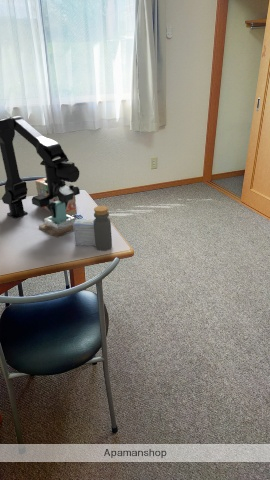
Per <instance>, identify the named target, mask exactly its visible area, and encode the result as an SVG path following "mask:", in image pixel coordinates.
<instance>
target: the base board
mask: <svg viewBox="0 0 270 480" xmlns="http://www.w3.org/2000/svg"><path fill="white" fill-rule="evenodd" d="M38 227H39V229H40V230H42V231H44V232H46V233H48V234H50V235H52V236H55V237H57V238H59V237H62V236H63V235H64V236H65V235H66V234H69V233H71V232H74V228H73V226H71V227H68V228H66V229H64V230H61V231H59V232H58V231H55V230H53V229H51V228H49V227H47V226H45V223H43V224H40V225H39V226H38Z"/></svg>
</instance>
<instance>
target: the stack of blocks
mask: <svg viewBox="0 0 270 480" xmlns="http://www.w3.org/2000/svg"><path fill="white" fill-rule="evenodd" d="M45 180H47V179H46V177H44V178H39V179H36V180H35V186H36V191H37V192H36V193H37V195H40V194H41V195H44V196H47V195H49V194H48V193H46V191H47V190H48V186H47V183H45ZM76 199H77V198H76V195H75V196H74V195H73V199H72V200H69V201H68V204H67V207H66V214H67V215H70V216H72V215H75V214H77V211H78V210H77V204H76V202H77V201H76ZM58 200H59V198H55V199H53V202H55V201H58ZM42 208H43V209H45V210H47V211H49V210H48V208H47V207H46V206H45V207H42ZM75 216H76V215H75ZM72 217H73V216H72Z"/></svg>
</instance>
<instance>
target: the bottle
mask: <svg viewBox="0 0 270 480" xmlns="http://www.w3.org/2000/svg"><path fill="white" fill-rule="evenodd" d="M108 210H109V207H108V206H106V205H97V206H95V207H94V208H93V211H94V213H93V216H94V219H93V220H94V233H95V244H96V246H95V249H96V250H97V251H100V252H105V251H109V250H112V248H113V239H112V238H113V237H112V224H111V218H109V216H110V212H109V211H108Z"/></svg>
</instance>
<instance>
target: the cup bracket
mask: <svg viewBox="0 0 270 480" xmlns="http://www.w3.org/2000/svg"><path fill="white" fill-rule="evenodd" d="M66 216H67V220H65V221H62V222H60V223H56V222H54V221H53V220H52V215H51V216H47V217H45V218H43V221H44V224H45V226H47V227H49V228H51V229H53V230H55V231H58V232H59V231H61V230H64V229H66V228H68V227H71V226H73V224H74V222H75V220H76V218H75V217H76V216H70V215H67V214H66Z"/></svg>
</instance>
